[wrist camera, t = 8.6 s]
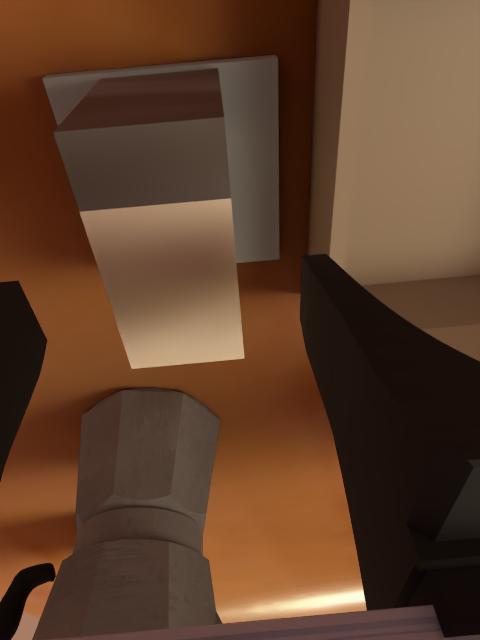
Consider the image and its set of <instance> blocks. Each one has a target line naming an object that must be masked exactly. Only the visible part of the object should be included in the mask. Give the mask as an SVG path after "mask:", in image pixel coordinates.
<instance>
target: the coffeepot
mask: <svg viewBox="0 0 480 640" xmlns="http://www.w3.org/2000/svg"><path fill="white" fill-rule="evenodd" d="M219 426H220V420H219V419H218V418H217V417H216V416H215V415H214V414H213V413H212V412H211V411H210V410H209V409H208V408H207V407H206V406H205V405H204V404H203V403H201V402H200V401H198V400H196V399H195V398H193V397H191V396H189V395H186V394H184V393H182V392H178V391H173V390H169V389H162V388H135V389H128V390H122V391H119V392H116V393H114V394H112V395H110V396H108V397H106V398H104V399H102V400H101V401H99V402H98V403H97V404H96V405H94V407H93V408H92V409H91V410H89V411H88V412H86V413H84V414H83V415H82V422H81V437H80V453H79V468H78V484H77V499H76V528H77V535H76V540H75V545H74V550H73V554H72V555H71V556H69V557H68V558H66V559H65V560H63V561H62V563H61V566H60V568H59V571H58V574H57V576H56V575H55V569H54V566H53V564H51V563H45V564H39V565H35V566H31V567H28V568H25V569H23V570H21V571H20V572H19V573H18V574H17V575H16V576H15V577H14V579H13V581H12V583H11V585H10V587H9V588H8V590H7V592H6V594H5V595H4V597H3V598H2V600H1V602H0V640H11V639H12V637H13V636H14V634H15V632H16V630H17V628H18V626H19V623H20V620H21V617H22V613H23V610H24V606H25V602H26V600H27V597H28V595H29V594H30V592H31V591H32V590H33V589H34V588H35V587H37V586H39V585H41V584H43V583H46V582H49V581H51V582H52V581H54V579H55V577H56V579H55V581H54V584H53V587H52V589H51V592H50V595H49V597H48V600H47V602H46V605H45V608H44V610H43V613H42V615H41V618H40V621H39V623H38V626H37V629H36V631H35V634H34V637H33V639H32V640H50V639H61V638H72V637H83V636H94V635H105V634H116V633H127V632H138V631H149V630H160V629H171V628H182V627H193V626H204V625H215V624H223V623H222V622H221V620H220V618H219V616H218V614H217V612H216V608H215V601H214V593H213V586H212V579H211V572H210V565H209V560H208V559H207V558H205V557H204V556H203V531H204V525H205V518H206V512H207V505H208V498H209V491H210V485H211V478H212V471H213V465H214V458H215V452H216V445H217V439H218V432H219Z"/></svg>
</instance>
